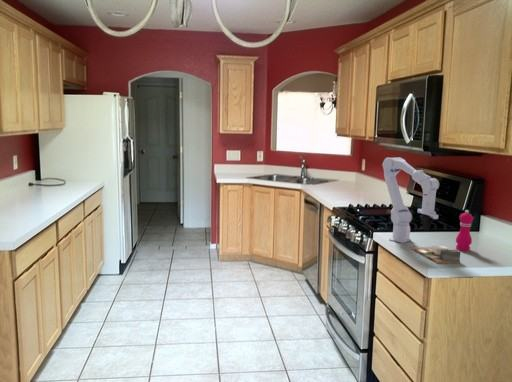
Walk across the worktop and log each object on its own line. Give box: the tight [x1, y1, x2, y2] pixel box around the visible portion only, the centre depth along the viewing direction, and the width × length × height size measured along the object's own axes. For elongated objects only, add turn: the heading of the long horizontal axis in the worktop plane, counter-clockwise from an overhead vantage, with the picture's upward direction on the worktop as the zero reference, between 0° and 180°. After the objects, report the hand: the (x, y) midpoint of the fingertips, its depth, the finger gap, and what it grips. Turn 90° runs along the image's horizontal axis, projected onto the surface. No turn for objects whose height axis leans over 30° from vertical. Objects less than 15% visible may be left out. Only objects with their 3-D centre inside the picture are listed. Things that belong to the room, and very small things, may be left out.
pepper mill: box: [455, 209, 474, 252], centre depth 220 cm, size 7×7×20 cm
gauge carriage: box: [426, 245, 449, 255], centre depth 208 cm, size 4×10×3 cm, turn 102°
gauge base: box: [411, 246, 461, 264], centre depth 209 cm, size 21×12×5 cm, turn 12°
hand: (425, 230), depth 220 cm, fingers closed
